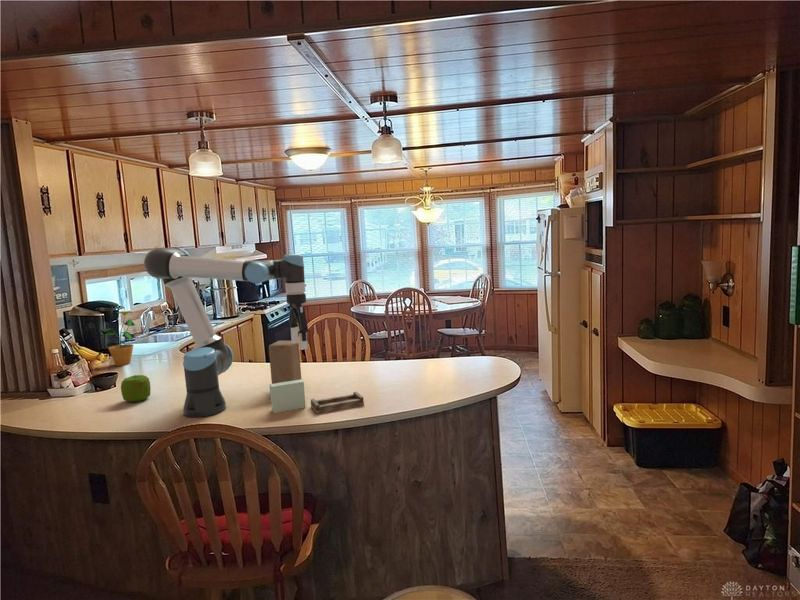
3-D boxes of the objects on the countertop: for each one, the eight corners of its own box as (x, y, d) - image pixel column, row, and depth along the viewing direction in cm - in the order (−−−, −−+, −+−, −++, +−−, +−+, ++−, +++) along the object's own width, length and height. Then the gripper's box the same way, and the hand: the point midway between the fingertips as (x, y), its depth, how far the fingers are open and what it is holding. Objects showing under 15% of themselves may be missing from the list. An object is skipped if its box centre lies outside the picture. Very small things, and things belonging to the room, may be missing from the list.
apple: (124, 398, 225) (121, 373, 223) (152, 394, 228) (149, 370, 227) (121, 406, 214) (117, 379, 213) (150, 401, 218) (147, 376, 217)
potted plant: (148, 361, 297) (142, 308, 293) (116, 369, 281) (109, 313, 277) (129, 359, 306) (123, 307, 302) (97, 366, 290) (90, 312, 286)
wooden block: (293, 391, 221) (289, 344, 219) (271, 391, 223) (267, 345, 221) (302, 384, 231) (299, 339, 228) (281, 384, 233) (277, 340, 230)
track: (316, 413, 192) (316, 405, 191) (311, 406, 200) (310, 399, 199) (364, 405, 198) (363, 397, 198) (356, 398, 207) (356, 391, 206)
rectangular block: (273, 413, 195) (271, 386, 194) (271, 410, 199) (269, 384, 197) (305, 407, 200) (303, 381, 198) (303, 404, 203) (301, 379, 202)
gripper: (314, 295, 199) (317, 350, 201) (297, 290, 221) (300, 340, 224) (294, 296, 196) (298, 353, 198) (279, 291, 218) (282, 342, 221)
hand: (299, 346), depth 211 cm, fingers open, 13 cm apart
